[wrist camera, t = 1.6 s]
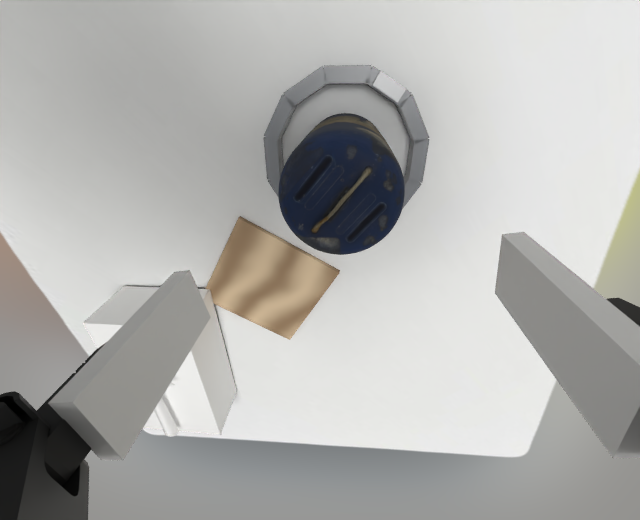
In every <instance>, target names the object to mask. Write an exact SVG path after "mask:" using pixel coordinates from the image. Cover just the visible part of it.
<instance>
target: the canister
mask: <svg viewBox="0 0 640 520" xmlns="http://www.w3.org/2000/svg"><path fill="white" fill-rule="evenodd" d="M278 195H279V203H280V208H281V212H282V214H283V217H284V219H285V221H286V223H287V224H288V226H289V227H290V229H291V230H292V231H293V232H294V234H295V235H296V236H297V237H298V238H299V239H300V240H302V241H303V242H304V243H306V244H307V245H309V246H311V247H312V248H314V249H317V250H319V251H322V252H326V253H330V254H339V255H342V254H351V253H356V252H360V251H363V250H365V249H368V248H370V247H372V246H373V245H375V244H377V243H378V242H379V241H381V240H382V239H383V238H384V237H385V236H386V235H387V234H388V233H389V232H390V231H391V230H392V228H393V227H394V225H395V224H396V222H397V220H398V218H399V216H400V214H401V211H402V208H403V203H404V196H405V185H404V179H403V175H402V171H401V168H400V165H399V163H398V161H397V159H396V158H395V156H394V154H393V152H392V150H391V149H390V147H389V145H388V144H387V142H386V141H385V139H384V138H383V136H382V135H381V134H380V132H379V131H378V129H377V128H376V127H375V126H374V125H373V124H372V123H371V122H370V121H368V120H367V119H365V118H363V117H361V116H358V115H355V114H346V113H345V114H337V115H333V116H331V117H328V118H326V119H325V120H323V121H322V122H320V123H319V124H318V125H317V126H316V127H315V128H314V129H313V130H312V131H311V132H310V133H309V134H308V135H307V136H306V138H305V139H304V140H303V141H302V142H301V143H300V144H299V145H298V146H297V147H296V149H295V150H294V151H293V152H292V154H291V155H290V157H289V158H288V160H287V162H286V164H285V166H284V168H283V170H282V173H281V176H280V181H279V191H278Z"/></svg>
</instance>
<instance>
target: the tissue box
mask: <svg viewBox="0 0 640 520" xmlns="http://www.w3.org/2000/svg"><path fill="white" fill-rule="evenodd" d="M159 288H160V287H133V286H123V287H122V288H121V289H120V290H119V291H118V292H117V293H116V294H114V295H113V296H112V297H111V298H110V299H109V300H108V301H107V302H105V303H104V304H103V305H102V306H101V307H100V308H99V309H98V310H97V311H95V312H94V313H93V314H92V315H91V316H90V317H89V318H88V319H87V320H85V321H84V322H83V325H84V327H85V328H86V330H87V332H88V334H89V335H90V337H91V339H92V341H93V342H94V344H95V346H96V348H97V349H98V348H99V347H101V346H102V345H103V344H105V343H106V342H107V341H108V340H109V339H110V338H111V337H112V336H113V335H114V334H115V333H116V332H117V331H118V330H119V329H120V328H121V327H122V326H123V325H124V324H125V323H126V322H127V321H128V320H129V319H130V318H131V317H132V316H133V315H134V313H135V312H136V311H137V310H138V309H139V308H140V307H141V306H142V305H143V304H144V303H145V302H146V301H147V300H148V299H149V298H150V297H151V296H152V295H153V294H154V293H155V292H156V291H157V290H158V289H159ZM198 290H199V292H200V294H201V297H202V299H203V301H204V303H205V306H206V308H207V310H208V312H209V315H210V317H211V318H210V319H209V321H208V323H207V324H206V326H205V328H204V329H203V331H202V333H201V334H200V336H199V337H198V339H197V341H196V342H195V344H194V346H193V347H192V349H191V351H190V352H189V354H188V355H187V357H186V359H185V360H184V362H183V364H182V365H181V367H180V368H179V370H178V372H177V373H176V375H175V377H174V378H173V380H172V382H171V383H170V385H169V386H168V388H167V390H166V391H165V393H164V395H163V396H162V398H161V399H160V401H159V403H158V404H157V406H156V408H155V409H154V411H153V413H152V414H151V416H150V417H149V419H148V421H147V422H146V424H145V426H144V427H143V428H146V429H158V430H163V431H164V433H165V435H167V436H175V435H177V434H178V433H179V431H181V432H193V433H205V434H217V435H221V432H222V429H223V427H224V424H225V421H226V419H227V416H228V413H229V411H230V408H231V405H232V403H233V400H234V397H235V395H236V392H237V390H236V386H235V382H234V378H233V375H232V371H231V367H230V363H229V360H228V356H227V352H226V348H225V345H224V341H223V337H222V333H221V329H220V326H219V322H218V318H217V314H216V311H215V307H214V303H213V299H212V296H211V292H210V289H198Z"/></svg>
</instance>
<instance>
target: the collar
mask: <svg viewBox="0 0 640 520" xmlns="http://www.w3.org/2000/svg"><path fill="white" fill-rule="evenodd" d="M327 84H367V85H369V86H370V87H372V88H373V89H374V90H376V91H377V92H379V93H380V94H382V95H383V96H385V97H386V98H387V99H389V100H390V101H392V102H393V103H395V104H396V105H397V107H398V110H399V112H400V114H401V117H402V119H403V122H404V124H405V127H406V129H407V132H408V134H409V136H410V146H409V153H408V161H407V168H406V174H405V176H404V177H403V179H404V185H405V196H404V203H403V207H404V206H405V205H406V204H407V202H408V201H409V200H410V198H411V197H412V196H413V194H414V193H415V192H416V191H417V189H418V188H419V187H420V185H421V183H420V182H422V180H423V174H424V168H425V162H426V156H427V151H428V145H429V139H428V138H429V136H428V133H427V131H426V128H425V125H424V123H423V120H422V117H421V115H420V112H419V110H418V107H417V104H416V102H415V99H414V97H413V95H411V92H409V91H408V90H407V88H405V87H404V86H403V85H401V84H400V83H398V82H397V81H395V80H394V79H393V78H391V77H390V76H388V75H387V74H386V73H384V72H383V71H380V70H378V69H377V68H375V67H374V66H373V67H372V68H371V65H351V66H324V68H323V67H320V68H319V69H317V70H316V71H315V72H313V73H312V74H310V75H309V76H307V77H306V78H305V79H303V80H302V81H300V82H299V83H297V84H296V85H294V86H293V87H292V88H290V89H289V90H287V91H286V92H284V95H282V96H281V99H280V101H279V103H278V105H277V108H276V110H275V112H274V114H273V117H272V119H271V121H270V123H269V126H268V128H267V130H266V132H265V135H264V136H265V137H264V147H265V159H266V170H267V179H269V180H268V182H269V183H270V185H271V186H272V188H273V190H274V191H275V193H276V194H277V196H278V197H279V195H278V191H279V181H280V176H281V173H282V170H283V154H282V135H283V133H284V131H285V129H286V127H287V125H288V123H289V121H290V119H291V116H292V114H293V112H294V110H295V108H296V106H297V104H299V103H300V102H302V101H303V100H305V99H306V98H308V97H309V96H311V95H312V94H314V93H315V92H317V91H318V90H320V89H321V88H323V87H324V86H326V85H327ZM402 209H403V208H402Z"/></svg>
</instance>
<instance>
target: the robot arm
mask: <svg viewBox="0 0 640 520" xmlns="http://www.w3.org/2000/svg"><path fill="white" fill-rule="evenodd" d="M495 294H496V295H497V297H498V298H499V299H500V301H501V302H502V304H503V305H504V306H505V308H506V309H507V311H508V312H509V313H510V315H511V316H512V318H513V319H514V320H515V322H516V323H517V325H518V326H519V327H520V329H521V330H522V332H523V333H524V334H525V336H526V337H527V339H528V340H529V341H530V343H531V344H532V346H533V347H534V349H535V350H536V351H537V353H538V354H539V356H540V357H541V358H542V360H543V361H544V363H545V364H546V365H547V367H548V368H549V370H550V371H551V372H552V374H553V375H554V377H555V378H556V379H557V381H558V382H559V384H560V385H561V386H562V388H563V389H564V391H565V392H566V393H567V395H568V396H569V398H570V399H571V400H572V402H573V403H574V404H575V406H576V407H577V409H578V410H579V411H580V413H581V414H582V416H583V417H584V419H585V420H586V421H587V422H588V424H589V425H590V427H591V428H592V430H593V431H594V432H595V434H596V435H597V436H598V438H599V440H600V441H601V442H602V444H603V445H604V447H605V448H606V449H607V450H608V452H609V454H610V455H611V456H612V458H640V307H638V306H635V305H633V304H631V303H629V302H627V301H625V300H622V299H620V298H610V299H605V298H604V297H603V296H602V295H600V294H599V293H598V292H597V291H595V290H594V289H593V288H592V287H591V286H589V285H588V284H587V283H586V282H584V281H583V280H582V279H581V278H580V277H578V276H577V275H576V274H575V273H573V272H572V271H571V270H570V269H569V268H567V267H566V266H565V265H564V264H562V263H561V262H560V261H559V260H558V259H556V258H555V257H554V256H553V255H551V254H550V253H549V252H548V251H547V250H545V249H544V248H543V247H542V246H540V245H539V244H538V243H537V242H536V241H534V240H533V239H532V238H531V237H529V236H528V235H527V234H526V233H525V232H519V233H510V234H502V239H501V247H500V256H499V264H498V272H497V280H496V288H495ZM210 318H211V317H210V315H209V312H208V310H207V308H206V306H205V303H204V301H203V299H202V297H201V294H200V292H199V290H198V288H197V285H196V283H195V281H194V279H193V276H192V274H191V272H190V270H188V271H179V272H174V273H173V274H172V275H171V276H170V277H169V278H168V279H167V280H166V281H165V282H164V283H163V284H162V285H161V287H160V288H159V289H158V290H157V291H156V292H155V293H154V294H153V295H152V296H151V297H150V298H149V299H148V300H147V301H146V302H145V303H144V304H143V305H142V306H141V307H140V308H139V309H138V310H137V311H136V312H135V313H134V315H133V316H132V317H131V318H130V319H129V320H128V321H127V322H126V323H125V324H124V325H123V326H122V327H121V328H120V329H119V330H118V331H117V332H116V333H115V334H114V335H113V336H112V337H111V338H110V339H109V340H108V341H107V342H106V343H105V344H103V345H102V346H101V347H99V348H98V349H97V350H96V351H95V352H94V353H93V354H92V355H91V356H90V357H89V358H88V359H87V360H86V361H85V363H83V364H82V365H81V366H80V367H79V368H78V369H77V370H76V373H73V374H72V375H71V376H70V377H69V378H68V379H67V380H66V381H65V382H64V383H63V384H62V386H60V387H59V388H58V389H57V391H56V392H55V393H54V394H53V395H52V396H51V397H50V398H49V399H48V400H47V401H46V402H45V403H44V404H43V405H42V406H41V407H40V408H39V409H38V410H37V411H36V410H35V409H34V408H33V407H32V406H31V405H30V404H29V403H28V402H27V401H26V400H25V399H24V398H23V397H22V396H21V395H20V394H19V393H17V392H8V393H4V394H1V395H0V520H88V491H89V490H88V489H89V466H88V463H87V462H86V461H85V460H84V458H85V457H86V456H87V454H88V453H89V452H90V450H92V451H94V453H95V454H96V455H97V456H98V457H99V458H100V459H101V460H124V458H125V457H126V455H127V453H128V452H129V450H130V448H131V447H132V445H133V444H134V442H135V440H136V439H137V437H138V435H139V434H140V432H141V431H142V429H143V427H144V426H145V424H146V422H147V421H148V419H149V417H150V416H151V414H152V413H153V411H154V409H155V408H156V406H157V404H158V403H159V401H160V399H161V398H162V396H163V395H164V393H165V391H166V390H167V388H168V386H169V385H170V383H171V382H172V380H173V378H174V377H175V375H176V373H177V372H178V370H179V368H180V367H181V365H182V364H183V362H184V360H185V359H186V357H187V355H188V354H189V352H190V351H191V349H192V347H193V346H194V344H195V342H196V341H197V339H198V337H199V336H200V334H201V333H202V331H203V329H204V328H205V326H206V324H207V323H208V321H209V319H210Z"/></svg>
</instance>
